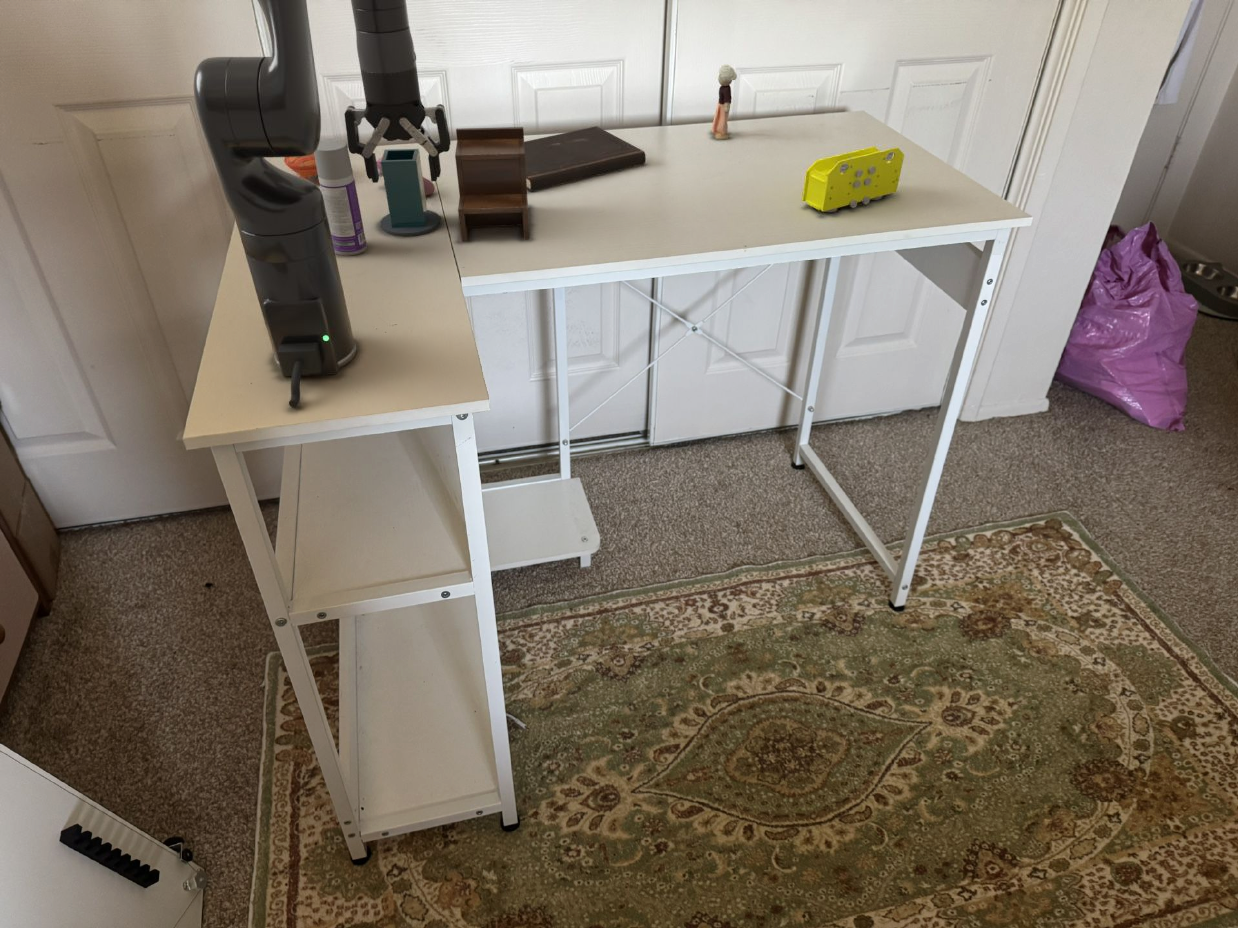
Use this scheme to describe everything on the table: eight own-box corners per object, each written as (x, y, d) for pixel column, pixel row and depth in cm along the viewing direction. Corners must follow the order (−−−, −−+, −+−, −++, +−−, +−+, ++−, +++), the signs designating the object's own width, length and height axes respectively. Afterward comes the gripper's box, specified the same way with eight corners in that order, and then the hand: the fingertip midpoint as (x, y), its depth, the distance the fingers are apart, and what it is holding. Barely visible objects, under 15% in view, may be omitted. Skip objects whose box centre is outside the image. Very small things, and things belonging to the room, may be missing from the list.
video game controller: (386, 192, 146) (363, 160, 140) (404, 174, 147) (382, 141, 141) (420, 209, 140) (398, 177, 135) (439, 190, 141) (418, 157, 136)
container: (353, 238, 129) (333, 136, 119) (373, 247, 126) (354, 144, 117) (327, 249, 126) (304, 145, 116) (347, 258, 123) (325, 153, 114)
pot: (336, 163, 151) (330, 128, 145) (339, 190, 146) (332, 155, 141) (287, 166, 149) (279, 130, 144) (289, 193, 144) (281, 157, 139)
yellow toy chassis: (823, 218, 136) (832, 165, 130) (799, 205, 139) (807, 153, 134) (897, 197, 142) (908, 146, 137) (872, 186, 146) (882, 135, 141)
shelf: (529, 239, 129) (524, 155, 121) (461, 241, 128) (452, 157, 120) (528, 206, 138) (523, 127, 130) (464, 208, 137) (456, 128, 129)
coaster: (438, 235, 130) (438, 232, 129) (377, 237, 129) (377, 234, 129) (442, 210, 137) (441, 207, 136) (384, 212, 136) (383, 209, 136)
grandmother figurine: (706, 130, 167) (711, 60, 159) (725, 129, 167) (731, 59, 159) (716, 144, 161) (722, 72, 153) (736, 143, 161) (743, 71, 153)
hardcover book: (486, 163, 153) (485, 149, 151) (596, 138, 163) (596, 126, 161) (531, 193, 142) (530, 179, 141) (645, 165, 152) (646, 152, 151)
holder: (425, 226, 131) (416, 160, 124) (391, 227, 130) (380, 162, 124) (427, 213, 135) (418, 148, 128) (395, 214, 134) (384, 149, 128)
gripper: (330, 71, 115) (352, 191, 125) (438, 70, 116) (452, 188, 126) (339, 57, 120) (360, 172, 131) (442, 55, 122) (455, 170, 132)
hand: (405, 180), depth 128 cm, fingers open, 8 cm apart
